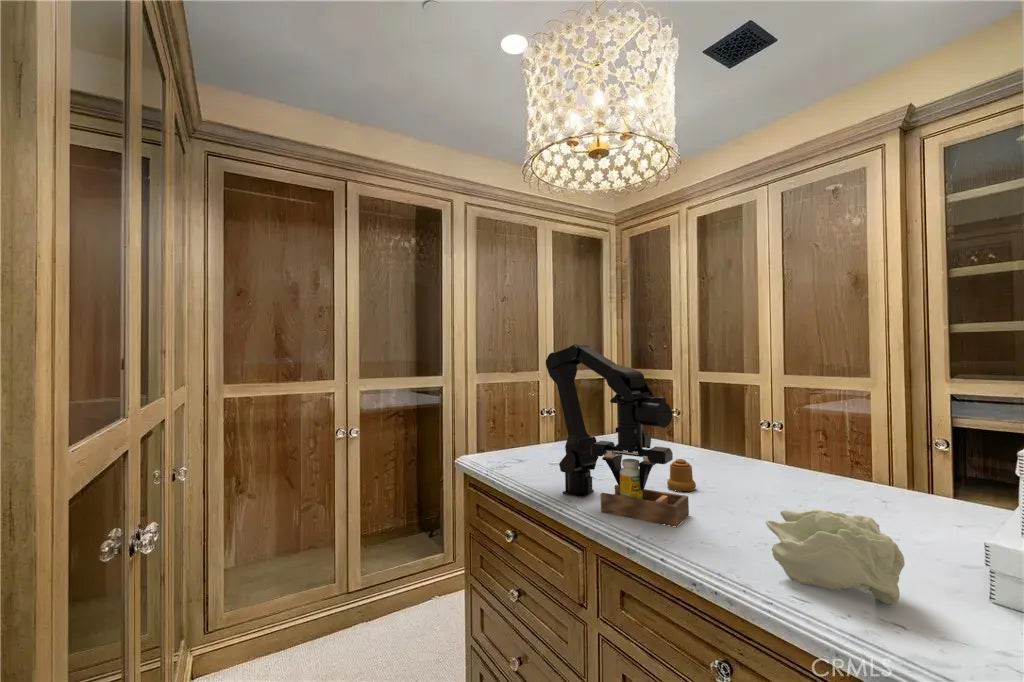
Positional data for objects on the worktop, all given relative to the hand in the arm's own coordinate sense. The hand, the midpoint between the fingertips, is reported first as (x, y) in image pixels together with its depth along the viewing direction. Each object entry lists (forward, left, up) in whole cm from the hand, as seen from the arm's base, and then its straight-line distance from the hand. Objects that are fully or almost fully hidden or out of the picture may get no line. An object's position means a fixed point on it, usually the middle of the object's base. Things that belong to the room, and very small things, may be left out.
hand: (631, 487), depth 115 cm
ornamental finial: (+4, +25, -6) cm, 26 cm away
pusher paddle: (+7, 0, -5) cm, 8 cm away
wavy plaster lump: (+41, -16, -6) cm, 44 cm away
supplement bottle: (0, 0, -3) cm, 3 cm away
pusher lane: (+3, 0, -6) cm, 6 cm away
